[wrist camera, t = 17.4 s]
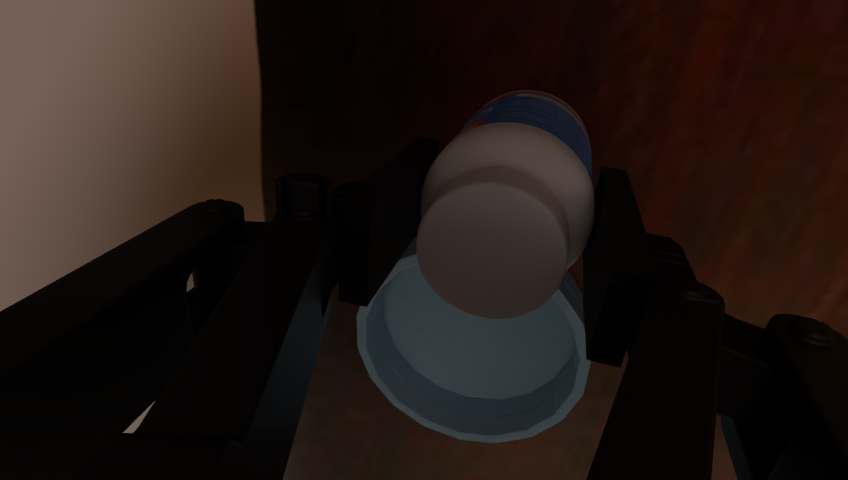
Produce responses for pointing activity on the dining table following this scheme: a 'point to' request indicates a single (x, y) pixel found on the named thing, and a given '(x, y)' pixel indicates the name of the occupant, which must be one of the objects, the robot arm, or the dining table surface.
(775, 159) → the dining table surface
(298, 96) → the dining table surface
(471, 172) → the pill bottle
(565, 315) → the shallow blue dish
